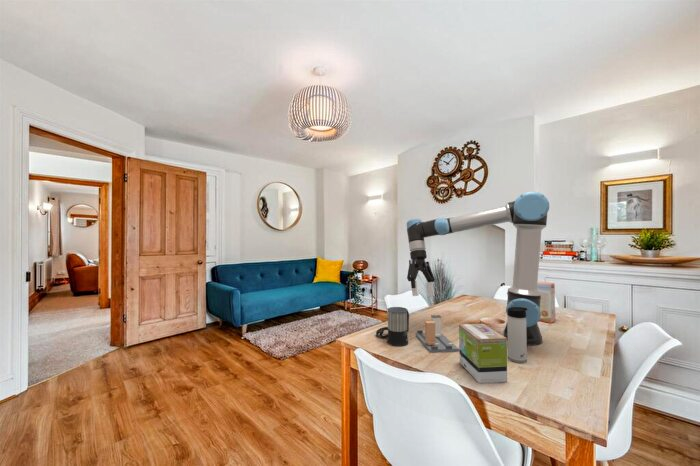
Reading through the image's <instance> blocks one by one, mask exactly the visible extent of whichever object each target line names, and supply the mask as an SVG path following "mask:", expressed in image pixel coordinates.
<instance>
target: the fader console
mask: <svg viewBox="0 0 700 466" xmlns="http://www.w3.org/2000/svg"><path fill="white" fill-rule="evenodd" d="M415 335H416V336H415V337H416V338H417V339H418V341H419V342H420V341H421V342H420V343H421V344H422V345H423V346H424V348H425V349H426V350H427V351H428V352H429V353H430V354H431V353H433V354H436V353H437V354H438V353H459V347H458V346H457V345H455V344H454V343H453V342H452V341H451V340H450V339H449V338H447V336H445V335H444V334H443V333H442V332H441V335H440V337H435V322H434V321H431V320H429V321H428V320H426V321H424V332H423V330H422V329H421V330H420V329H418V330H416V332H415Z"/></svg>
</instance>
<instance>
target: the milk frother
mask: <svg viewBox="0 0 700 466" xmlns="http://www.w3.org/2000/svg"><path fill="white" fill-rule="evenodd" d="M386 310H387V326H384V327H380V328H378V329H377V330H376V332H375V336H376V337H378V338H380V339H387V344H389V345H391V346H394V347H405V346H407V345H408V344H409V338H408V333H409V330H410V329H409V327H410V325H409V324H410V313H409V310H408V309H407V308H406V307H402V306H391V307H388V308H386ZM385 331H387V334H384V332H385ZM383 334H384V335H383Z"/></svg>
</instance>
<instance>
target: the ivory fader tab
mask: <svg viewBox="0 0 700 466" xmlns="http://www.w3.org/2000/svg"><path fill="white" fill-rule="evenodd" d="M430 315H431V316H430V321H434V322H435V337H440V335H441V333H442V316H441V315H440V314H430Z"/></svg>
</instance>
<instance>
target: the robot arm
mask: <svg viewBox="0 0 700 466" xmlns="http://www.w3.org/2000/svg"><path fill="white" fill-rule="evenodd" d="M549 210H550V201H549V200H548V198H547V197H546V196H545V194H542V193H540V192H539V191H538V192H537V191H527V192H524V193H522V194H520V195H519V196H518V197H517V198H516V199H515V200H514V201H510V202H506V204H505V205H502V206H498V207H494V208H493V207H492V208H490V209H485V210H481V211H475V212H472V213H468V214H462V215H459V216H454V217H450V218H447V217H438V218H435V219H431V220H426V221H422V220H421V218H414V219H412V218H411V219H409V220H407V222H406V232H407V239H408V240H407V241H408V247H409V255H410V259H409V260H408V264H409V265H408V270H407V277H406V279H407V281H408V282H410V287H411V292H412V294H411V295H412V297H417V296H420V295H419V294H420V293H419V287H418V280H416V279H417V277H418V273H419V271H420V272H421V273H422V274H423V276H424V278H425V279H426V281H427V282H426V286H427V295H428V297H434V296H435V290H434V284H433V283H434V282H436V279H435V276H434V274H433V270H432V269H431V266H430V262H429V261H426V259H427V258H428V257H427V251H426V243H425V238H429V237H435V236H446V235H449V234H454V233H458V232H459V233H460V232H463V231H468V230H474V229H478V228H484V227H488V226H489V227H490V226H494V225H499V224H504V223H511V224H512V225H513V227H515V228H516V238H515V249H514V262H513V263H514V265H513V276H512V286H511V287H509V288H507V293H506V295H507V300H506V301H507V303H506V304H507V305H506V308H505V313H506V315H508V314H507V313H508V312H507V309H508V308H511V307H522V308H527V311H526V339H527V346H539V345H541V344H543V335H542V333H541V332H542V331H541V330H540V327H539V324H538V322H540V321H539V319H540V317H541V312H540V301H541V293H540V292H539V291H538V290H537V281H538V280H539V279H538V278H539V269H540V268H539V267H540V254H541V239H542V231H543V230H544V229H545V228H546V227H547V225H548V224H547V223H548V212H549ZM538 282H539V281H538ZM503 336H504V337H506V338H507V341H508V333H507V323H506V324H505V326H504V330H503Z"/></svg>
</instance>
